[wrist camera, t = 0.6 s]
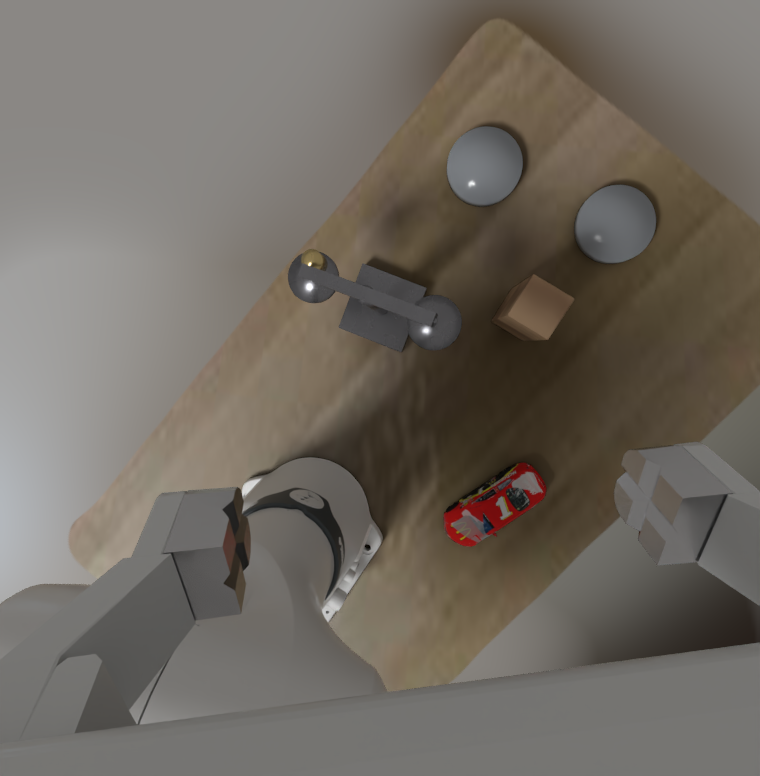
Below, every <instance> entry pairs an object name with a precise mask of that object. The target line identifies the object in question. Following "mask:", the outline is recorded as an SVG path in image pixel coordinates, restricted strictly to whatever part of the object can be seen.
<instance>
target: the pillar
mask: <svg viewBox="0 0 760 776" xmlns="http://www.w3.org/2000/svg"><path fill="white" fill-rule="evenodd" d="M573 301H574V298H573V297H571V296H569V295H568V294H566V293H564V292H563V291H561V290H559V289H558V288H556V287H554V286H553V285H551V284H549V283H548V282H546V281H544V280H543V279H541V278H539V277H538V276H536V275H535V274H533V275H532V276H530V277H529V278H527V279H526V280H524V281H523V282H521V283H520V284H518V285H517V286H515V287H514V288H512V289H511V290H510V292H509V293H508V295H507V297H506V298H505V300H504V301H503V303H502V304H501V306H500V308H499V309H498V311H497V312H496V314H495V315H494V317H493V319H492V320H491V322H492V323H494V324H496V325H497V326H499V327H501V328H502V329H504V330H506V331H507V332H509V333H510V334H512V335H514V336H515V337H517V338H519V339H520V340H522V341H532V340H548V339H549V338H550V336H551V334H552V333H553V331H554V330H555V328H556V327H557V325H558V324H559V322H560V321H561V319H562V318H563V316H564V315H565V313H566V312H567V310H568V309H569V307H570V305H571V304H572V302H573Z"/></svg>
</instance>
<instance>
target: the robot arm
mask: <svg viewBox="0 0 760 776" xmlns="http://www.w3.org/2000/svg"><path fill="white" fill-rule="evenodd" d="M621 465H622V467H623V469H624V470H625V473H624V474H623V475H622V476H621V477H620V478H619V479H618V480H617V481H616V485H615V490H614V498H615V505H616V508H617V510H618V512H619V515H620V516H621V518H622V519H623V520H624V522H625V523H626V524H627V525H629V526H631V527H633V528H634V529H636V530H638V531H639V537H638V541H639V542H640V543H641V544H642V546H643V547H644V549H645V550H646V551H647V552H648V554H649V555H650V556H651V558H652V559H653V560H654V562H655V563H656V564H657V565H668V564H681V563H692V562H698V565H700V566H701V567H703V568H704V569H705V570H707V571H708V572H710V573H711V574H713V575H714V576H716V577H718V578H719V579H721V580H722V581H724V582H725V583H727V584H728V585H729V586H731V587H732V588H734V589H735V590H737V591H738V592H740V593H741V594H743V595H744V596H746V597H748V598H749V599H750V600H752V601H753V602H755V603H756V604H758V605H759V606H760V491H759V490H758V489H756V488H755V487H754V486H753V485H752V484H751V483H749V482H748V481H747V480H746V479H745V478H744V477H742V476H741V475H740V474H739V473H738V472H737V471H735V470H734V469H733V468H732V467H731V466H729V465H728V464H727V463H726V462H725V461H724V460H723V459H721V458H720V457H719V456H718V455H717V454H715V453H714V452H713V451H712V450H711V449H710V448H708V447H707V446H706V445H704V444H702V443H699V442H690V443H682V444H674V445H668V446H659V447H649V448H639V449H629V450H628V451H627V452H626V453H625V455H624V457H623V460H622V463H621ZM382 540H383V537H382V533H381V531H380V530H379V528H378V526H377V525H376V524H375V522H374V521H373V519H372V518H371V515H370V512H369V507H368V502H367V499H366V496H365V494H364V491H363V489H362V487H361V486H360V484H359V483H358V481H357V480H356V479H355V478H354V477H353V476H352V475H351V474H350V473H349V472H348V471H347V470H346V469H344V468H343V467H341V466H340V465H338V464H336V463H334V462H331V461H329V460H325V459H321V458H313V457H308V458H300V459H295V460H292V461H290V462H287V463H285V464H283V465H282V466H280V467H279V468H277V469H276V470H274V471H273V472H271V473H269V474H267V475H262V476H257V477H253V478H250V479H249V480H247V481H246V482H245V484H244V485H243V488H242V493H241V489H240V488H238V487H230V488H216V489H203V490H189V491H181V492H168V493H162V494H160V495H159V496H158V497H157V498H156V501H155V503H154V505H153V508H152V510H151V512H150V515H149V517H148V519H147V522H146V524H145V526H144V529H143V531H142V533H141V536H140V538H139V540H138V543H137V545H136V548H135V550H134V552H133V555H132V557H131V558H124V559H122V560H121V561H119V562H118V563H117V564H116V565H115V566H113V567H112V568H111V569H110V570H109V571H107V572H106V573H105V574H104V575H102V576H101V577H100V578H99V579H98V580H96V581H95V582H94V583H93V584H92V585H86V584H40V585H35V586H32V587H29V588H26V589H24V590H22V591H20V592H18V593H16V594H15V595H13V596H12V597H10V598H8V599H6V600H5V601H4V602H2V603H1V604H0V776H760V643H755V644H746V645H739V646H732V647H724V648H717V649H709V650H701V651H694V652H686V653H678V654H671V655H664V656H656V657H648V658H641V659H634V660H626V661H618V662H611V663H603V664H596V665H589V666H581V667H573V668H566V669H559V670H551V671H543V672H536V673H528V674H521V675H513V676H506V677H498V678H491V679H483V680H475V681H468V682H460V683H452V684H445V685H437V686H429V687H422V688H414V689H407V690H399V691H391V692H387V689H386V687H385V685H384V683H383V681H382V679H381V677H380V675H379V673H378V672H377V670H376V669H375V668H374V667H373V666H372V665H370V664H369V663H367V662H366V661H365V660H363V659H362V658H361V657H360V656H358V655H357V654H356V653H355V652H353V651H352V650H351V649H350V648H349V647H348V646H347V645H346V644H345V643H344V642H343V641H342V640H341V639H340V638H339V637H338V636H337V635H336V633H335V632H334V631H333V629H332V628H331V627H330V625H329V624H328V622H329V621H330V619H331V618H332V616H333V615H334V613H335V612H336V611H339V609H340V608H341V606H342V604H343V603H344V601H345V599H346V596H347V594H348V593H349V591H350V590H351V588H352V587H353V585H354V584H355V582H356V581H357V579H358V578H359V576H360V575H361V573H362V572H363V570H364V569H365V567H366V566H367V564H368V563H369V561H370V560H371V558H372V557H373V556H374V554H375V553H376V551H377V550H378V548H379V547H380V545H381V543H382ZM366 544H368V545H370V546H371V548H369V549H367V548H366V547H365V545H366Z"/></svg>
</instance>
